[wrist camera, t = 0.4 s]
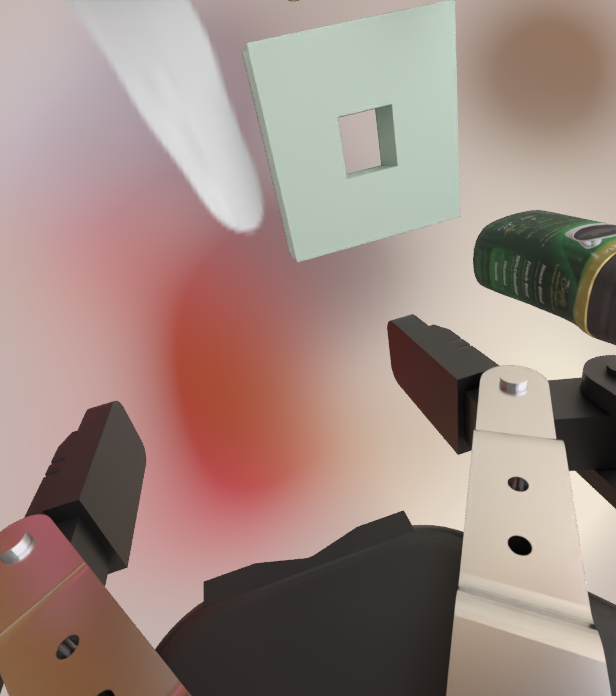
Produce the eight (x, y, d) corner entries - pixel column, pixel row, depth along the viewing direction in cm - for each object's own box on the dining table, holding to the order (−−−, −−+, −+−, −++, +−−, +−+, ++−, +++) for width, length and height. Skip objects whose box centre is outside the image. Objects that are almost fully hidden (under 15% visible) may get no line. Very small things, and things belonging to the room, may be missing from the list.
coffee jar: (469, 293, 45) (619, 371, 29) (468, 223, 41) (641, 267, 25) (543, 271, 46) (729, 334, 30) (550, 201, 42) (766, 229, 26)
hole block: (242, 54, 30) (246, 42, 27) (430, 13, 32) (454, -2, 29) (289, 254, 38) (297, 262, 35) (440, 212, 40) (459, 216, 37)
